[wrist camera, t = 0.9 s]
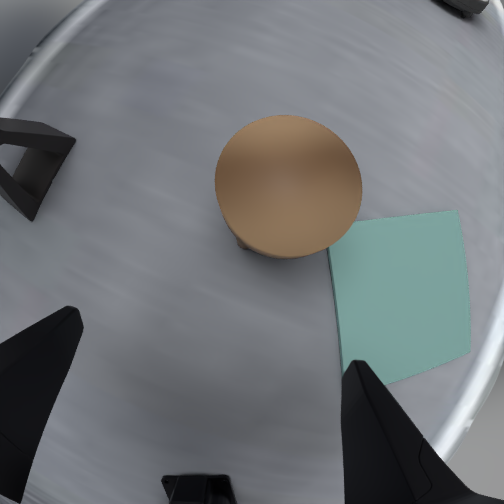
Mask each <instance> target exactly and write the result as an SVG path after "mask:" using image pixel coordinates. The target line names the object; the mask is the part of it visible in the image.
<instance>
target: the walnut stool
mask: <svg viewBox="0 0 504 504" xmlns="http://www.w3.org/2000/svg"><path fill="white" fill-rule="evenodd" d="M215 190H216V196H217V200H218V203H219V206H220V209H221V212H222V214H223V217H224V220H225V222H226V224H227V226H228V227H229V229H230V230H231V232H232V233H233V234H234V235H235V237H236V239H237V243H238V245H239V247H240V248H242V249H248V248H250V249H251V250H253V251H255V252H257V253H259V254H261V255H264V256H267V257H271V258H276V259H295V258H300V257H304V256H307V255H310V254H313V253H316V252H318V251H321V250H324V249H326V248H327V247H329V246H331V245H333V244H334V243H335V242H337V241H338V240H339V239H340V238H341V237H343V236H344V235H345V234H346V232H347V231H348V230H349V229H350V227H351V226H352V224H353V222H354V221H355V219H356V217H357V214H358V212H359V209H360V205H361V200H362V180H361V175H360V171H359V168H358V165H357V162H356V160H355V158H354V156H353V154H352V153H351V151H350V149H349V148H348V147H347V146H346V144H345V143H344V142H343V141H342V140H341V139H340V138H339V137H338V136H337V135H336V134H335V133H334V132H332V131H331V130H330V129H328V128H326V127H325V126H323V125H321V124H319V123H317V122H315V121H313V120H310V119H307V118H303V117H298V116H291V115H277V116H270V117H266V118H262V119H259V120H257V121H254V122H252V123H250V124H248V125H247V126H245V127H244V128H242V129H241V130H240V131H238V132H237V133H236V134H235V135H234V136H233V137H232V138H231V139H230V140H229V142H228V143H227V144H226V146H225V147H224V149H223V151H222V153H221V155H220V157H219V160H218V163H217V167H216V173H215Z"/></svg>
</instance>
